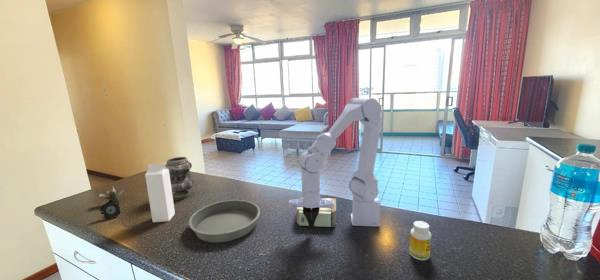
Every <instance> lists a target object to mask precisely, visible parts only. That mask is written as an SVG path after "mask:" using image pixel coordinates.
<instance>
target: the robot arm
mask: <svg viewBox="0 0 600 280" xmlns="http://www.w3.org/2000/svg"><path fill="white" fill-rule="evenodd" d="M381 111H382V105H381V104H380V103H379V101H378V100H377V99H376V98H373V97H369V98H362V97H361V98H360V97H352V98H350V100H349V101H348V103H347V104H345V106H344V109H343V111H342V112H341V114H340V115H339V117H337V119H336V120H335V122H334V123H333V125H331V127H330V128H329V130H328V131H327V132H323V133H321V134H318V135H317V136H316V139H315V141H314V142H313V143H312V144H311V145H310V147H308V148H307V150H306V151H304V152H302V153H301V154H300V156H299V158H298V160H297V162H298V165H299V166H300V168H301V198H302V199H300V198H298V199H297V198H296V199H289V201H288V209H291V208H297V207H303V214H304V215H305V217H306V219H307V221H308V224H309V226H308V228H309V230H314V228H315V226H314V223H315V220H316V218H317V216H318V214H319V209H320V208H330V209H334V201H329V200H324V199H320V198H321V187H320V184H321V183H320V180H321V179H320V170H321V169H323V166H324V161H325V158H327V156H328V155H329V154H330V153H331V151H332V150H333V149H335V146H337V141H336V140H337V139H338V137H339V136H340V135H341V134H343V132H345V130H346V129H347V128H348V127H349V126H350V125H351V124H352V123H353V122H357V121H359V122H360V124H362V126H363V131H362V138H361V145H360V150H359V151H360V152H359V158H358V164H357V168H356V169H357V170H355V171H354V172H353V173H352V175H351V179H350V180H349V182H348V189H349V191H350V192H351V196H352V213H350V219H351V220H350V221H351V225H352V226H356V227H378V228H380V226H381V225H380V222H381V220H380V219H381V203H380V199H379V197H378V195H379V186H378V184H379V180H378V179H377V176H376V175H375V173H374V172H375V164H376V158H377V152H378V146H379V139H380V135H381V127H382V118H381V113H382V112H381ZM311 208H312V210H311ZM311 215H312V217H311Z"/></svg>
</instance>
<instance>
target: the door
mask: <svg viewBox="0 0 600 280" xmlns="http://www.w3.org/2000/svg"><path fill="white" fill-rule="evenodd" d="M311 217H312V215H311ZM298 226H302V227H304V226H306V227H309V224H308V221H307V219H306V217H305V215H304V214H303V211H299V224H298ZM335 226H336V225H335V211H332V225H331V212H325V211H319V214H318V216H317V218H316V220H315V223H314V227H321V228H322V227H326V228H328V227H329V228H331V227H332V228H335Z"/></svg>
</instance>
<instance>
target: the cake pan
mask: <svg viewBox="0 0 600 280" xmlns="http://www.w3.org/2000/svg"><path fill="white" fill-rule="evenodd" d="M260 214H261V209H260V207H259V206H258V205H257V204H256V203H254V202H251V201H248V200H244V199H229V200H221V201H217V202H213V203H211V204H208V205H206V206H203V207H202V208H200V209H198V210H197V211H195V212H194V213H193V214H192V215H191V216H190V217H189V220H188V227H189V228H190V229H191V230H192V231H193V232H194V234H195V235H196V237H197V238H198V239H199V240H201V241H203V242H207V243H224V242H230V241H233V240H236V239H239V238H243V236H245V235H247V234H249V233H250V232H251V231H252V230H253V229H254V228H255V227H256V224H257V221H258V218H259V217H260Z"/></svg>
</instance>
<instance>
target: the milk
mask: <svg viewBox="0 0 600 280" xmlns="http://www.w3.org/2000/svg"><path fill="white" fill-rule="evenodd" d="M165 165H166V164H165V163H164V162H163V163H148V164H147V169H146V173H145V174H144V177H145V182H146V189H147V195H148V201H149V208H150V214H151V219H152V223H161V222H170V221H171V219H172V218H173V217H174V215H175V214H176V212H175V205H174V204H175V203H174V199H173V196H172V194H173V192H172V189H171V182H170V175H169V169H167V168H166V167H165Z"/></svg>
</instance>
